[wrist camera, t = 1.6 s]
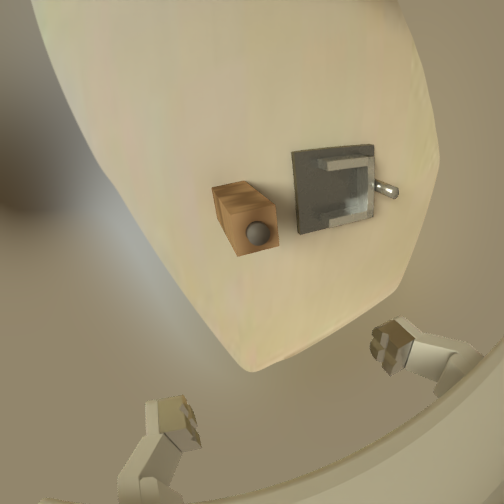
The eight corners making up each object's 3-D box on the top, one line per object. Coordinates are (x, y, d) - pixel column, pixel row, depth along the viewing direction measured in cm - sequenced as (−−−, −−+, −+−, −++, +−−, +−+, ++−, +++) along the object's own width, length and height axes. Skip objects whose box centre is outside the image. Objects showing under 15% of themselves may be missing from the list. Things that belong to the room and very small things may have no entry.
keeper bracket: (297, 232, 47) (320, 252, 40) (291, 151, 40) (316, 158, 33) (369, 214, 50) (396, 230, 43) (370, 144, 43) (400, 151, 36)
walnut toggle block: (217, 218, 42) (240, 261, 30) (211, 187, 39) (232, 218, 27) (248, 211, 43) (283, 250, 31) (244, 180, 40) (279, 208, 28)
